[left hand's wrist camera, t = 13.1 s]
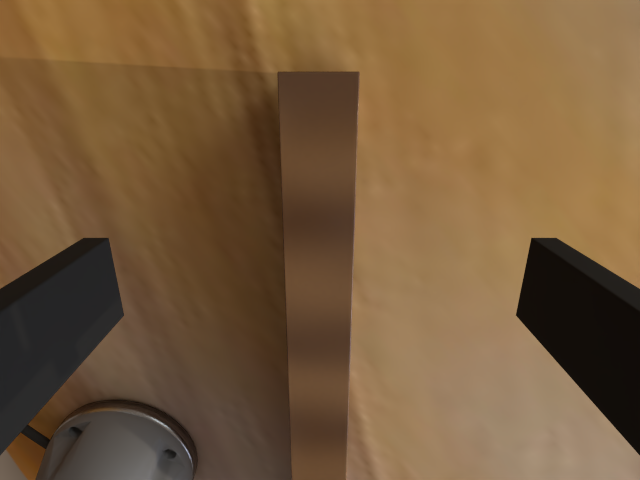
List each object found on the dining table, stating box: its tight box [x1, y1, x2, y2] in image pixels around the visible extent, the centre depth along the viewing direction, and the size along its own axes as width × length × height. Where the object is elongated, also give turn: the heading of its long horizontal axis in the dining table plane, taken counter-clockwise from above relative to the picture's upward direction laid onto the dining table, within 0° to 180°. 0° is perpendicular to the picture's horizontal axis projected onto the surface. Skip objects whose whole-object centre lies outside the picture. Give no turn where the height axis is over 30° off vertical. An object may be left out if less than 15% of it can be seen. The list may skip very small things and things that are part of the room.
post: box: [278, 72, 360, 480], centre depth 39 cm, size 74×5×8 cm, turn 0°
